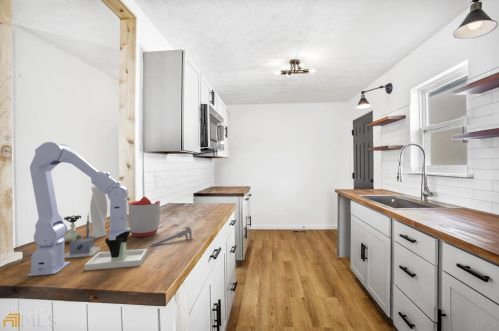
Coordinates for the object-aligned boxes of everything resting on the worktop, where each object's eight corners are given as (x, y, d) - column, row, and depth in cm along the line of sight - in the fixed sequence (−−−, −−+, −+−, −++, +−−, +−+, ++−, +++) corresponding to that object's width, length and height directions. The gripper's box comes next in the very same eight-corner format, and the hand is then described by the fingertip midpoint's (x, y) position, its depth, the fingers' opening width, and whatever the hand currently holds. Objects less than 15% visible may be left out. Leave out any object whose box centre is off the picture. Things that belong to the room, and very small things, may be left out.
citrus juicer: (168, 230, 133) (168, 194, 133) (147, 239, 116) (147, 198, 116) (144, 228, 137) (144, 193, 137) (120, 237, 120) (120, 197, 120)
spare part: (122, 261, 88) (122, 245, 88) (111, 262, 88) (111, 246, 88) (126, 257, 92) (126, 242, 92) (114, 258, 91) (114, 242, 91)
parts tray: (140, 265, 86) (140, 260, 86) (84, 270, 82) (84, 264, 82) (147, 253, 98) (147, 248, 98) (98, 257, 94) (98, 252, 94)
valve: (72, 244, 109) (72, 218, 109) (60, 243, 111) (60, 217, 111) (84, 240, 116) (84, 215, 116) (73, 239, 117) (73, 215, 117)
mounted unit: (92, 255, 95) (92, 242, 95) (64, 258, 93) (64, 244, 93) (100, 249, 103) (100, 236, 103) (74, 250, 101) (74, 237, 101)
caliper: (190, 238, 120) (190, 225, 120) (191, 238, 119) (191, 226, 119) (148, 247, 107) (148, 232, 107) (149, 247, 106) (149, 233, 106)
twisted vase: (102, 233, 128) (102, 181, 128) (111, 235, 124) (111, 182, 125) (85, 237, 121) (85, 182, 121) (94, 239, 117) (94, 183, 117)
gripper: (124, 221, 84) (124, 260, 84) (135, 213, 98) (135, 246, 98) (102, 222, 82) (102, 261, 82) (116, 214, 96) (116, 247, 96)
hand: (118, 253), depth 90 cm, fingers open, 7 cm apart
